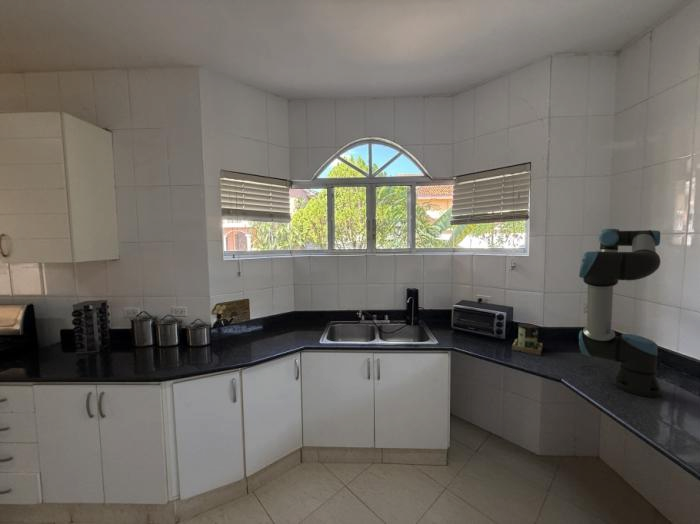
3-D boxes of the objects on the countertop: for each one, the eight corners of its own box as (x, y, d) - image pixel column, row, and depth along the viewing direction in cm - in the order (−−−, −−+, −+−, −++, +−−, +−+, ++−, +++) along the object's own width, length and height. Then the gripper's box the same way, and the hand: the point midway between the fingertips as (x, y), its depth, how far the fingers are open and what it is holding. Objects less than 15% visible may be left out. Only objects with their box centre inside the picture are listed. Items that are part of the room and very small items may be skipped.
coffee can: (539, 348, 181) (540, 325, 180) (533, 352, 175) (534, 329, 173) (521, 343, 189) (522, 321, 188) (514, 347, 182) (515, 325, 181)
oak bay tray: (540, 355, 172) (540, 350, 171) (512, 350, 180) (512, 345, 180) (542, 347, 183) (542, 343, 183) (515, 343, 192) (515, 338, 192)
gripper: (622, 257, 149) (618, 300, 149) (612, 258, 170) (609, 295, 170) (602, 256, 153) (598, 298, 154) (595, 257, 174) (592, 294, 174)
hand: (604, 297), depth 162 cm, fingers open, 13 cm apart
